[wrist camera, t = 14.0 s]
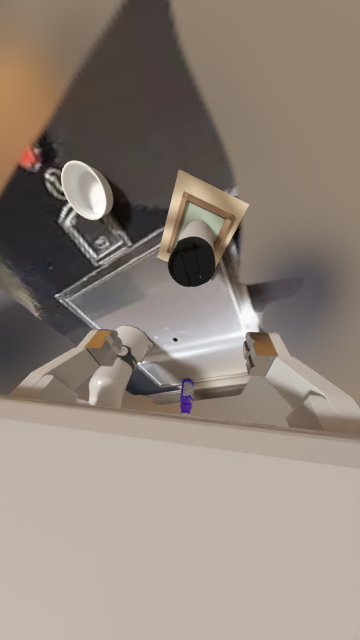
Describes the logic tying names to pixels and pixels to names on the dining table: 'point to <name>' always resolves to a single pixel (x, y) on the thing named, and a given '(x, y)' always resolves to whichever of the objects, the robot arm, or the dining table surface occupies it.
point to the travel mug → (193, 256)
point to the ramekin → (86, 190)
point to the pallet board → (201, 214)
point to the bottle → (186, 397)
